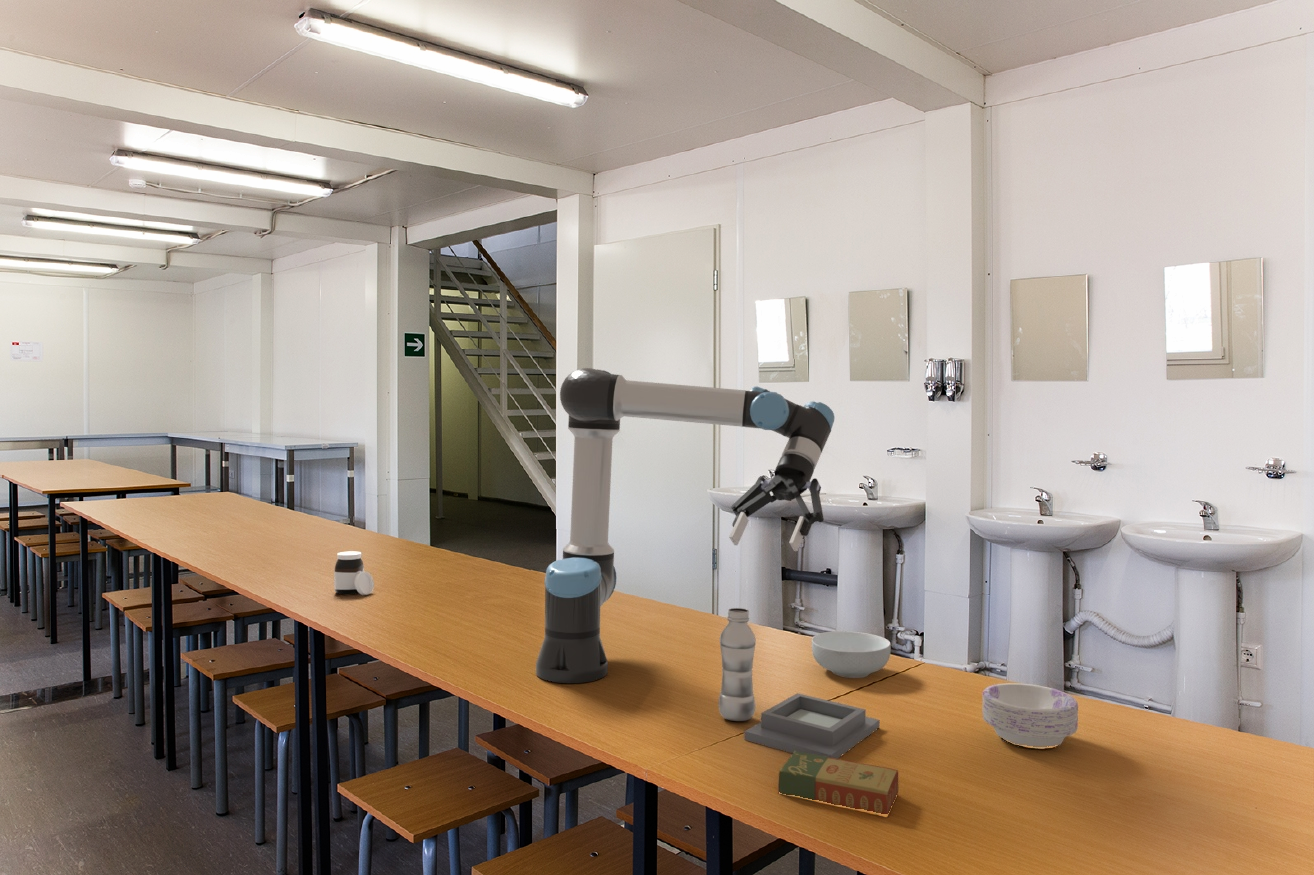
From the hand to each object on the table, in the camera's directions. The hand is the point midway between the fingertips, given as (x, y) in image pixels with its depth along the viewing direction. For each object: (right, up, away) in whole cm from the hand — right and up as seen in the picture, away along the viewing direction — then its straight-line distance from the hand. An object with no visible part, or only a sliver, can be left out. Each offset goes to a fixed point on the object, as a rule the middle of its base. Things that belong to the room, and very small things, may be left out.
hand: (762, 544), depth 169 cm
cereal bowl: (+21, -30, +16) cm, 40 cm away
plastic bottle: (-6, -30, -13) cm, 34 cm away
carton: (+6, -32, -43) cm, 54 cm away
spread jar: (-110, -25, +84) cm, 141 cm away
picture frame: (+6, -31, -20) cm, 37 cm away
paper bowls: (+44, -32, -21) cm, 58 cm away
